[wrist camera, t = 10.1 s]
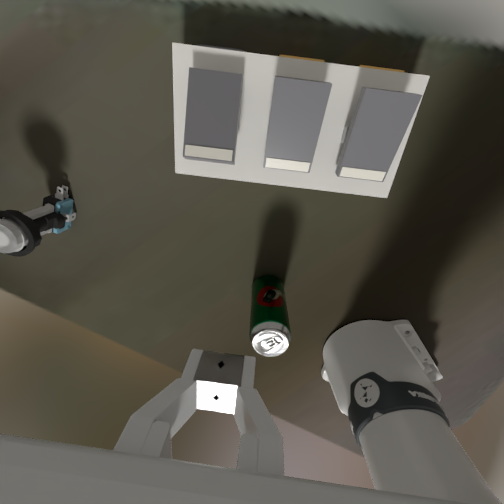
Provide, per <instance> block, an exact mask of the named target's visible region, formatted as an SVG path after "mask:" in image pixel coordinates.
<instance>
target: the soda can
mask: <svg viewBox="0 0 504 504" xmlns="http://www.w3.org/2000/svg"><path fill="white" fill-rule="evenodd" d="M249 337H250V341H251V343H252V345H253V348H254V349H255V351H256V352H258V353H259V354H261V355H264V356H277V355H280V354H282V353H283V352H285V351H286V349H287V348H288V345H289V342H290V339H291V332H290V325H289V318H288V312H287V305H286V298H285V292H284V285H283V283H282V281H281V280H280V279H279V278H277V277H275V276H272V275H264V276H261V277H259V278H257V279H256V280H255V281H254V283H253V285H252V297H251V315H250V334H249Z"/></svg>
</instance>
